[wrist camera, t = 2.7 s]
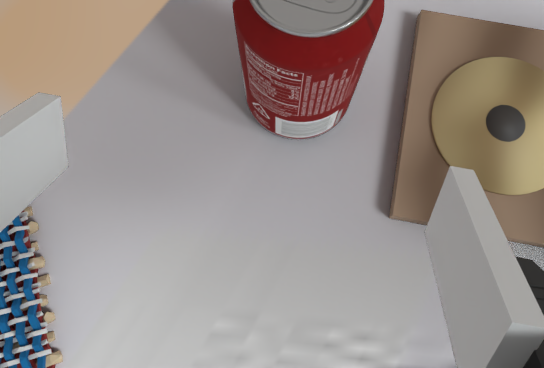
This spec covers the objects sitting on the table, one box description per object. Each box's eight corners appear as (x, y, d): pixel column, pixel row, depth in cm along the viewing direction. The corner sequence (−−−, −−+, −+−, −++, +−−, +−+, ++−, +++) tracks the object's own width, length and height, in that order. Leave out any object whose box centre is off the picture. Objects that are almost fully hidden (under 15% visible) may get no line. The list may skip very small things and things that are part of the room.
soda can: (344, 148, 30) (389, 56, 18) (239, 137, 30) (217, 38, 18) (352, 53, 31) (399, -89, 20) (253, 42, 32) (240, -104, 20)
